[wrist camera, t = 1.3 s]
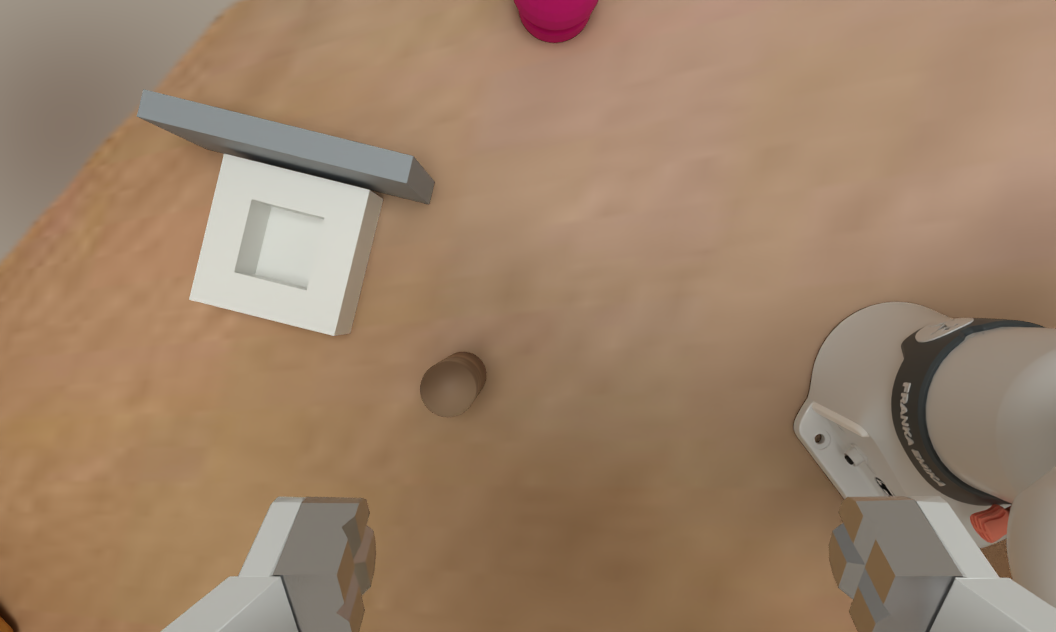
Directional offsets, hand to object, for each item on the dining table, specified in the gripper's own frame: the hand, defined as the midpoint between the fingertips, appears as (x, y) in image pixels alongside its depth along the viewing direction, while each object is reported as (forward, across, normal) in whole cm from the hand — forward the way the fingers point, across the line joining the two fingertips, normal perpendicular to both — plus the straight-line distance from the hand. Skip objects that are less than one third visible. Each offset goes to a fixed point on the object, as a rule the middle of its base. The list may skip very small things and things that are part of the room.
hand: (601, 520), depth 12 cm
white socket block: (+44, -22, -16) cm, 52 cm away
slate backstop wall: (+48, -20, -10) cm, 53 cm away
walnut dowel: (+39, -8, -25) cm, 47 cm away
